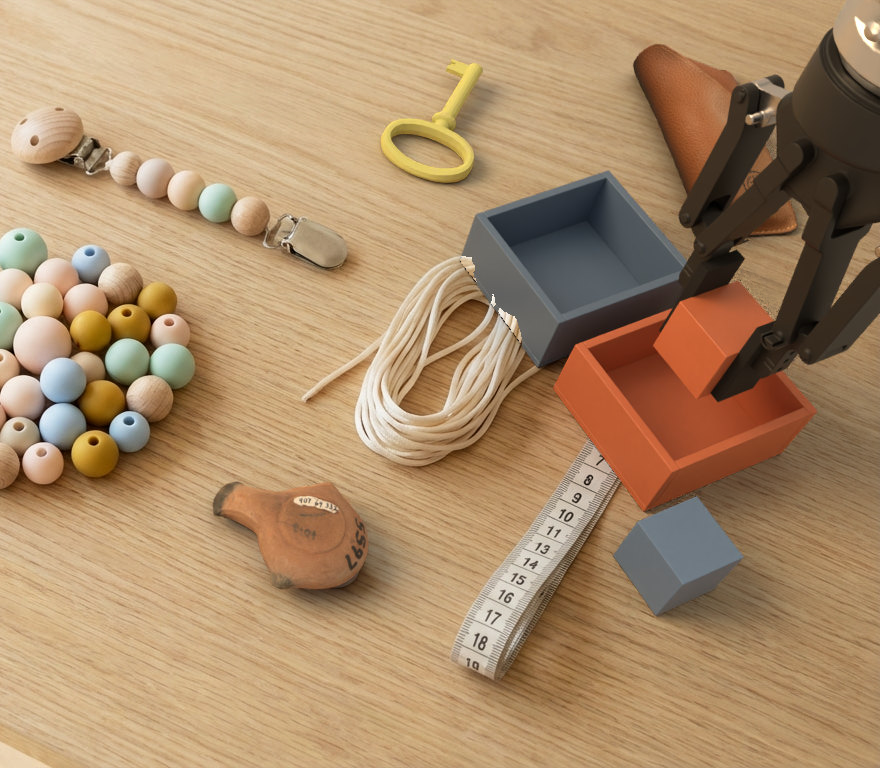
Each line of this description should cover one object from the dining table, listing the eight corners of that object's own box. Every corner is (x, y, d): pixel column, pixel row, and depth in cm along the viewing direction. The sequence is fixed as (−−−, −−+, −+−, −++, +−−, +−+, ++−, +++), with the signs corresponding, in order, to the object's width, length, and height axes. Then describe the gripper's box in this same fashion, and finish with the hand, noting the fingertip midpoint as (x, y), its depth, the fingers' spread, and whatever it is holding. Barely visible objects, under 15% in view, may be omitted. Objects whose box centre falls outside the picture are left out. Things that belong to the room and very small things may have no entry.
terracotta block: (708, 324, 77) (738, 279, 73) (753, 377, 74) (786, 334, 71) (652, 345, 75) (679, 301, 72) (696, 400, 73) (726, 357, 70)
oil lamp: (318, 469, 78) (203, 509, 76) (322, 430, 75) (202, 470, 73) (383, 580, 73) (261, 625, 71) (391, 542, 70) (263, 588, 68)
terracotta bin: (686, 336, 85) (714, 291, 81) (782, 452, 80) (818, 411, 75) (552, 388, 82) (575, 344, 78) (643, 512, 77) (672, 472, 72)
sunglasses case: (808, 230, 90) (799, 176, 85) (711, 264, 93) (697, 215, 88) (727, 65, 100) (714, 9, 95) (641, 101, 103) (624, 48, 98)
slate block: (669, 530, 76) (697, 495, 72) (714, 589, 74) (744, 557, 70) (612, 555, 75) (637, 521, 71) (655, 616, 73) (683, 584, 69)
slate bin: (586, 217, 91) (608, 169, 87) (670, 317, 86) (697, 272, 81) (458, 261, 88) (475, 213, 84) (537, 368, 83) (559, 323, 78)
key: (478, 80, 99) (485, 59, 97) (469, 189, 92) (476, 169, 90) (390, 66, 99) (395, 45, 97) (374, 174, 92) (379, 154, 90)
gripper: (723, -35, 59) (574, 274, 78) (990, 215, 50) (748, 494, 69) (842, -68, 61) (668, 241, 80) (1118, 167, 52) (848, 450, 71)
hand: (705, 358), depth 75 cm, fingers closed on terracotta block, 4 cm apart
